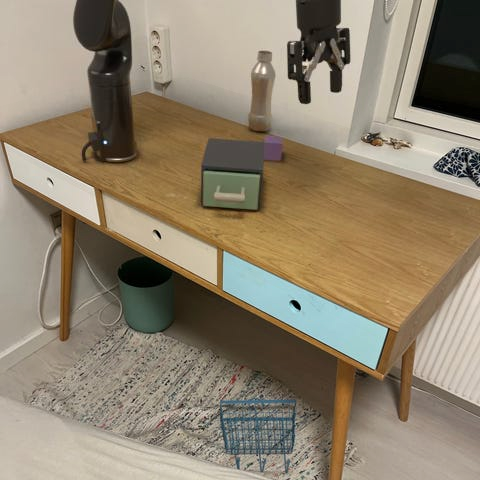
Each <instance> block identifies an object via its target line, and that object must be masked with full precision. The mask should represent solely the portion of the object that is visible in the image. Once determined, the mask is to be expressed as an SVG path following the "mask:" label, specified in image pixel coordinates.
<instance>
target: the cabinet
mask: <svg viewBox="0 0 480 480" xmlns="http://www.w3.org/2000/svg"><path fill="white" fill-rule="evenodd" d="M264 144H265V142H264V141H253V140H239V139H225V138H213V137H208V139H207V141H206V146H205V150H204V154H203V157H202V161H201V164H200V167H201V169H200V180H201V182H200V206H201V207H204V206H203V173H204V171H208V169H213V170H226V171H240V172H254V173H257V175H260V182H259V194H258V206H257V210H256V211H260V210H261V202H262V201H261V200H262V191H263V180H264V165H265V160H264ZM211 207H213V206H211ZM238 209H240V208H238Z"/></svg>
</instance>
